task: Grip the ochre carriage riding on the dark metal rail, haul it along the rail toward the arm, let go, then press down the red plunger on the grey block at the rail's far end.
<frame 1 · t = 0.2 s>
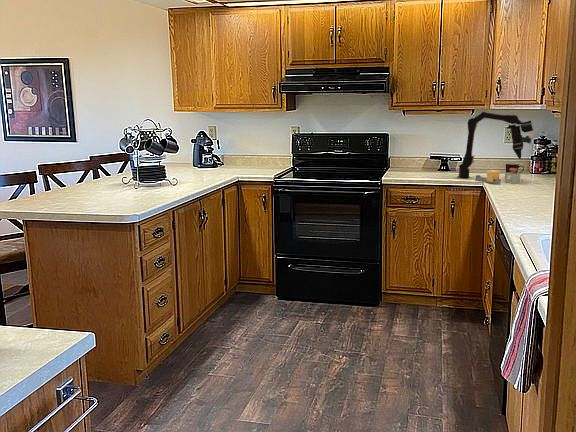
hand: (520, 158, 382), 15 cm above the worktop, tool pointing down, fingers open, 9 cm apart
rail: (487, 182, 381), on the worktop
carriage: (493, 176, 376), point 5 cm above the worktop, slide at 4.2 cm
coffee mug: (513, 178, 397), on the worktop
grey block: (511, 182, 381), on the worktop
plunger: (512, 173, 379), point 6 cm above the worktop, slide at 0.0 cm
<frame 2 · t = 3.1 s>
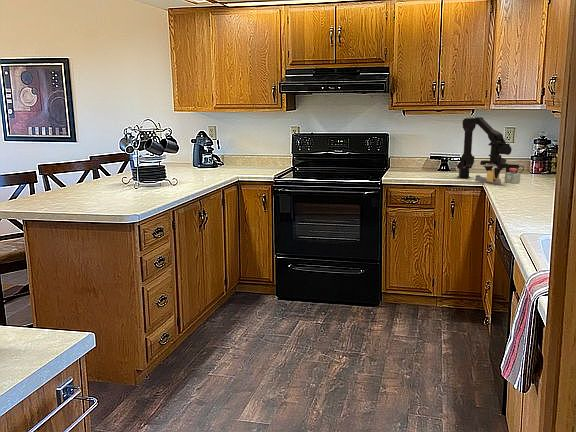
hand: (492, 177, 376), 4 cm above the worktop, tool pointing down, fingers closed on carriage, 5 cm apart
carriage: (493, 176, 376), point 5 cm above the worktop, slide at 4.2 cm, touching gripper
everything else where it was.
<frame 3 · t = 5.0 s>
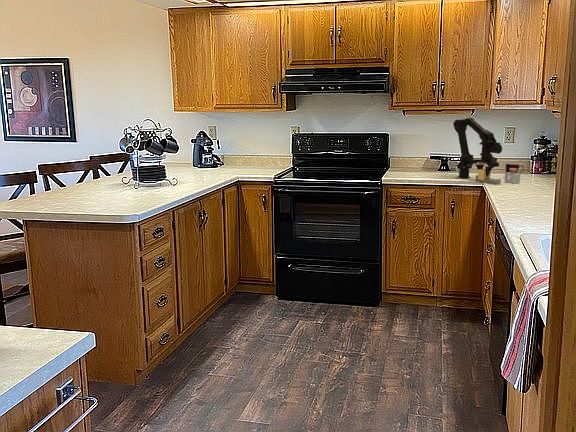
hand: (484, 176, 383), 3 cm above the worktop, tool pointing down, fingers closed on carriage, 5 cm apart
carriage: (484, 174, 383), point 5 cm above the worktop, slide at -3.5 cm, touching gripper
everything else where it was.
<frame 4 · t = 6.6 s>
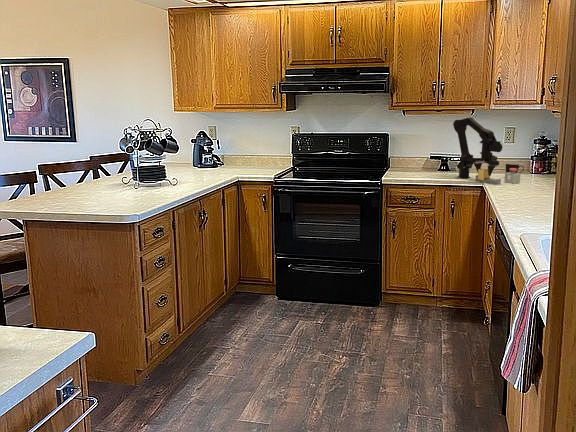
hand: (484, 174, 383), 4 cm above the worktop, tool pointing down, fingers open, 9 cm apart
carriage: (484, 174, 383), point 5 cm above the worktop, slide at -3.5 cm
everything else where it was.
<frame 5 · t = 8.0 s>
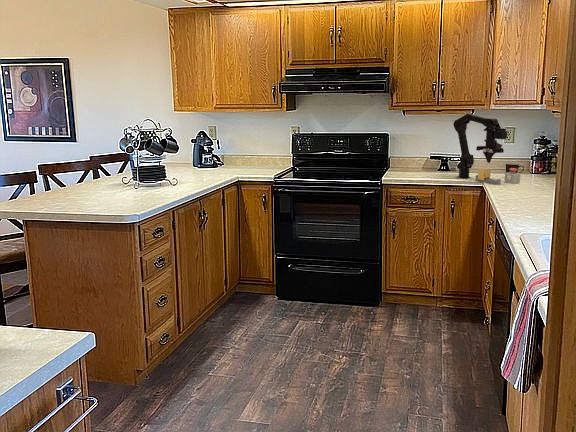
hand: (488, 162, 381), 12 cm above the worktop, tool pointing down, fingers closed
nothing on the worktop moved.
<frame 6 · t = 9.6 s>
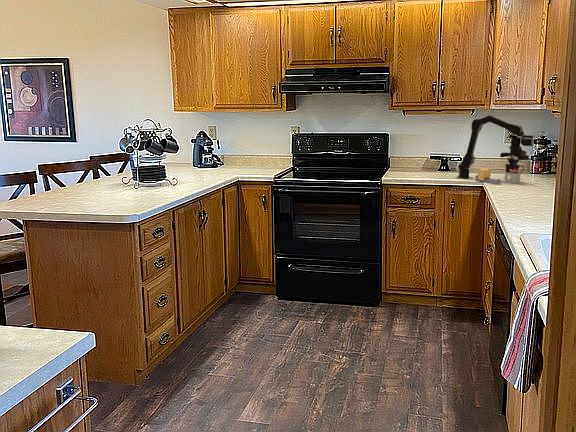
hand: (513, 169, 379), 8 cm above the worktop, tool pointing down, fingers closed, pressing on plunger
plunger: (512, 174, 380), point 5 cm above the worktop, slide at 0.7 cm, touching gripper
everything else where it was.
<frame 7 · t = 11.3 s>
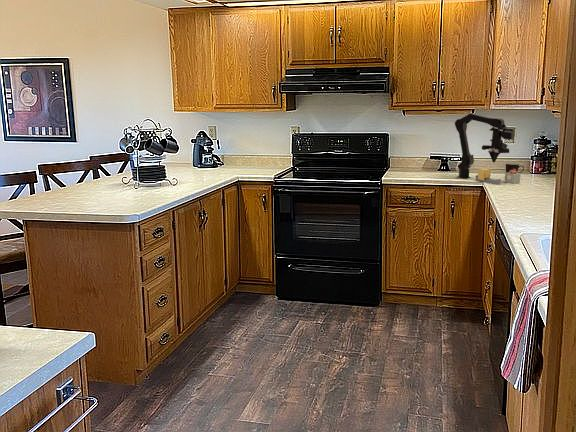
hand: (493, 162, 384), 12 cm above the worktop, tool pointing down, fingers closed
plunger: (512, 175, 380), point 4 cm above the worktop, slide at 1.6 cm
everything else where it was.
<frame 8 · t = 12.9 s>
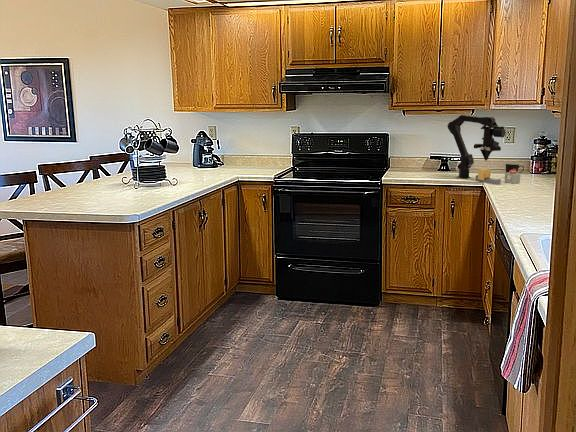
hand: (486, 160, 386), 13 cm above the worktop, tool pointing down, fingers closed
nothing on the worktop moved.
at the end: carriage slide at -3.5 cm; plunger slide at 1.6 cm; the gripper is holding nothing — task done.
